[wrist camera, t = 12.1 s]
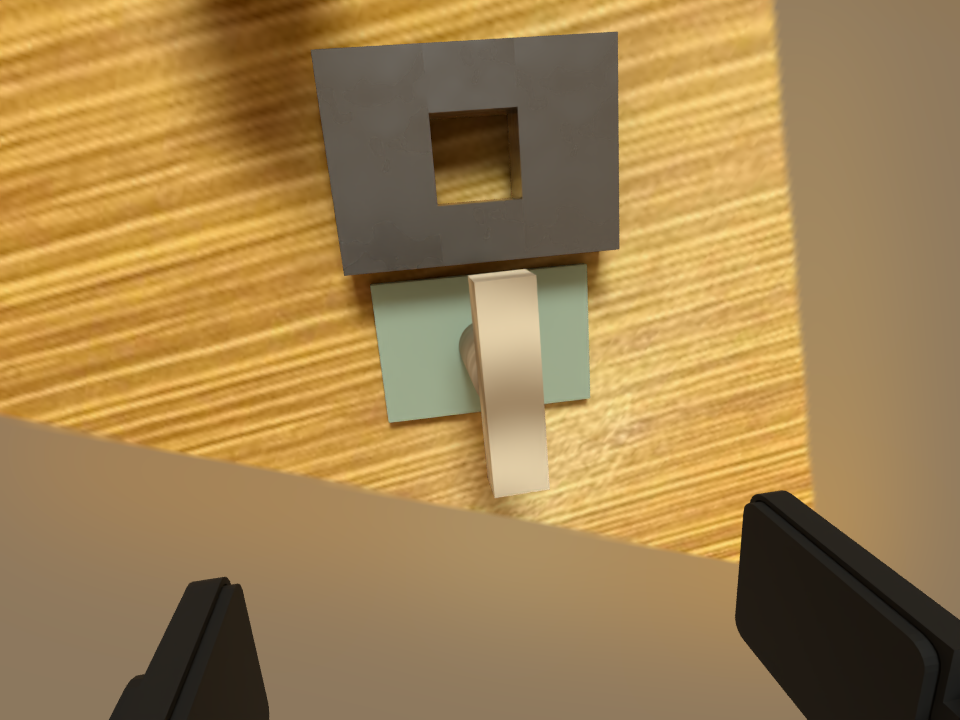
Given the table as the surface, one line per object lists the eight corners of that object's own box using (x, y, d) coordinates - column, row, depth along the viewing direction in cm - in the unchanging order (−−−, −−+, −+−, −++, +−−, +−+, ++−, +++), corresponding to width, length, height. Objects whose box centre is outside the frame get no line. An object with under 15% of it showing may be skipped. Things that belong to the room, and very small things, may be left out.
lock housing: (349, 267, 31) (344, 275, 28) (320, 63, 28) (310, 49, 25) (600, 243, 33) (619, 249, 30) (597, 46, 30) (617, 31, 27)
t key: (449, 259, 31) (469, 283, 23) (503, 253, 31) (540, 274, 24) (467, 429, 34) (490, 498, 26) (517, 422, 34) (553, 488, 27)
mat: (389, 418, 34) (388, 422, 33) (371, 284, 32) (370, 285, 31) (587, 394, 35) (590, 398, 35) (583, 263, 33) (586, 264, 32)
